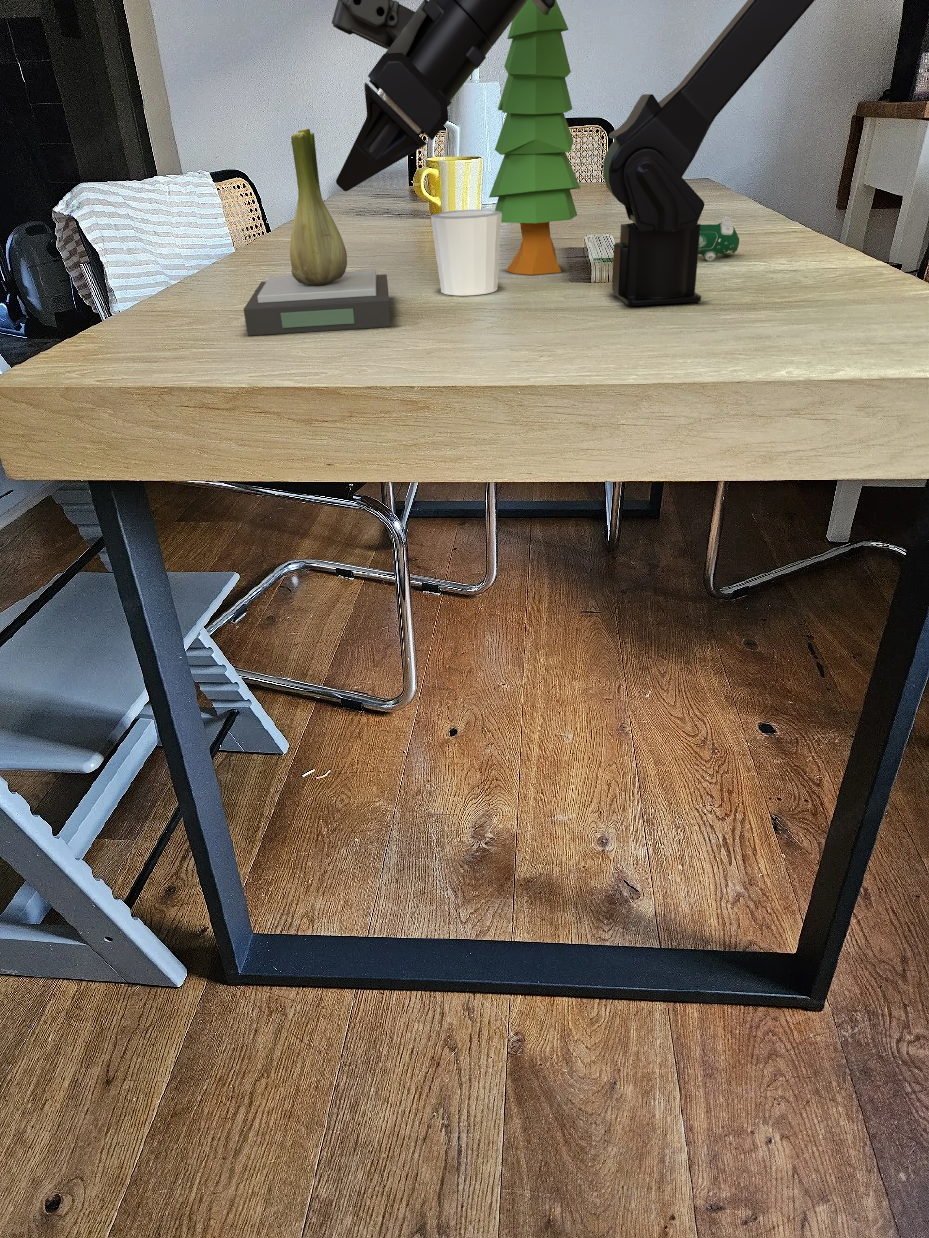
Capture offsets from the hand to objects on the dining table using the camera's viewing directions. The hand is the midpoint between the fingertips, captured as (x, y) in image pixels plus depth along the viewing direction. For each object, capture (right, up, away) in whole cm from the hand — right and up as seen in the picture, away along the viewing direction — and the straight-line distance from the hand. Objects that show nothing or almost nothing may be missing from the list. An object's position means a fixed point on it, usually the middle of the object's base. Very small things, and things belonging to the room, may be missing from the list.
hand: (342, 183), depth 75 cm
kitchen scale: (-2, -9, +5) cm, 11 cm away
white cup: (+11, -4, +13) cm, 17 cm away
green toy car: (+36, +3, +23) cm, 43 cm away
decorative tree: (+18, +1, +22) cm, 28 cm away
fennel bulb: (-2, -7, +4) cm, 8 cm away
